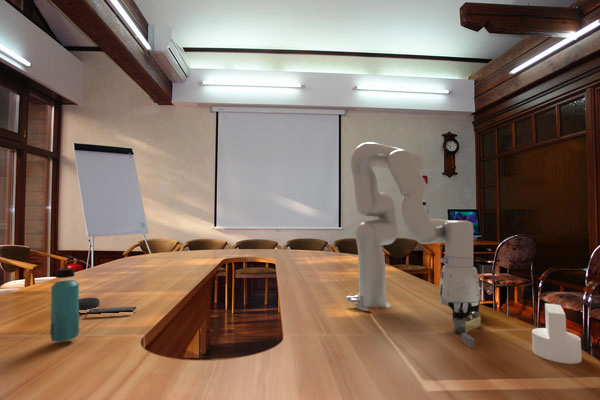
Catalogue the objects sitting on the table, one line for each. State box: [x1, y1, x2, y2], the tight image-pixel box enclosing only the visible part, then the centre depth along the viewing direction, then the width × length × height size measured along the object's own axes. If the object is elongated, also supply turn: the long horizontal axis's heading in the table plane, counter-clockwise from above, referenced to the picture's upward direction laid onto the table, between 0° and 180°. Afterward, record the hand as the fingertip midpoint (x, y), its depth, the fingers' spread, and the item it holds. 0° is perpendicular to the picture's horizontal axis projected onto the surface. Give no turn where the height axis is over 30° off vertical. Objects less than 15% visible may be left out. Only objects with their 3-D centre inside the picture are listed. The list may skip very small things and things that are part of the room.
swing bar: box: [453, 311, 482, 335], centre depth 94 cm, size 12×3×4 cm, turn 127°
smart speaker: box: [79, 297, 100, 310], centre depth 120 cm, size 9×9×4 cm
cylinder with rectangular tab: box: [531, 302, 582, 365], centre depth 77 cm, size 9×9×12 cm
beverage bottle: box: [49, 267, 81, 342], centre depth 91 cm, size 6×7×20 cm
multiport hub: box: [86, 306, 137, 315], centre depth 115 cm, size 4×14×2 cm, turn 100°
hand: (458, 324), depth 98 cm, fingers closed
